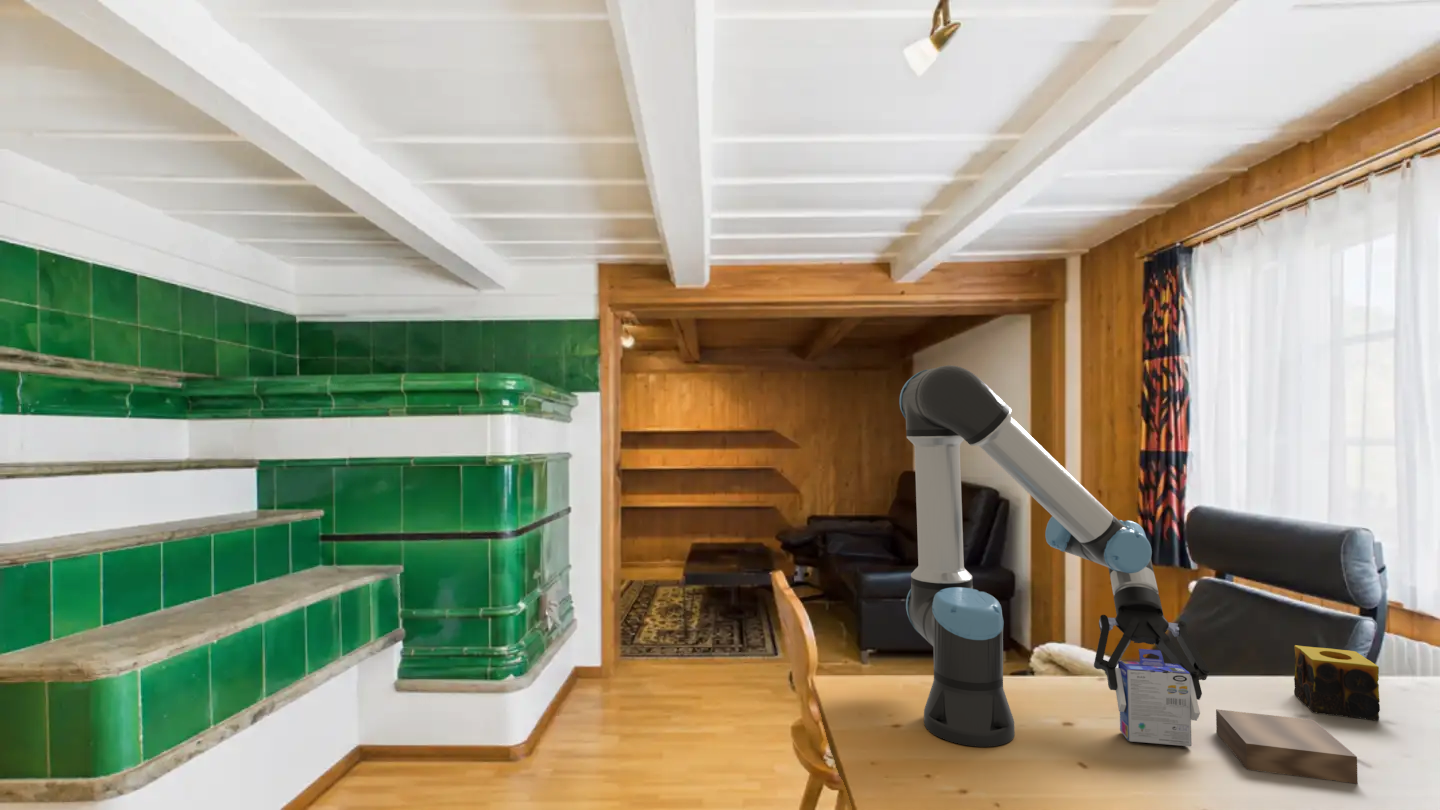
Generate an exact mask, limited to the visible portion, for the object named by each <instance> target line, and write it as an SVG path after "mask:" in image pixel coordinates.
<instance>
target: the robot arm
mask: <svg viewBox="0 0 1440 810" xmlns="http://www.w3.org/2000/svg"><path fill="white" fill-rule="evenodd" d="M899 409H900V411H901V413H902V416H903V417H904V419H905V430H906V439H908V441H909V442H910V443H911V444H913V446H914V465H915V467H914V468H915V473H914V474H915V497H916V498H915V503H916V505H915V506H916V525H917V526H916V528H917V529H916V530H917V559H918V561H917V562H918V566H917V567H915V569H914V570H913V571H912V572H911V573H910V584H911V585H910V589H909V591H908V593H907V595H906V601H905V609H906V614H907V617H908V620H909V622H910V624H911V625H912V627H913V628H914V629H913V630H915V632H917V633H918V634H919V635H921V637H922V638H923V639H925V641H927V642H928V644H930V646H932V647H933V681H932V685H931V687H930V691H929V694H928V697H927V700H926V704H925V705H924V709H923V724H925V725H924V727H925V726H926V727H925V729H926V730H927V729H928V730H929V731H928V730H927V731H928V732H929V733H931V734H932V733H933V734H932V735H934V736H936V737H937V736H938V738H940V739H942V738H943V740H944V739H945V741H947V742H951V743H953V742H954V744H957V743H958V745H963V746H970V747H978V748H979V747H983V748H984V747H985V748H988V747H997V746H1002V745H1006V744H1007V743H1009V742H1012V740H1013V739H1014V738H1015V734H1016V733H1015V719H1014V716H1013V713H1012V710H1011V707H1010V704H1009V702H1008V699H1007V695H1006V692H1005V690H1004V640H1003V639H1004V627H1005V626H1004V623H1005V622H1004V616H1003V610H1002V605H1001V604H1000V602H999V600H998V599H997V598H996V597H994V596H993V595H992V594H990V593H987V592H986V591H979V590H978V589H975V588H974V585H973V575H972V574H971V573H970V572H969V571H968V570H967V569H966V568H965V562H964V558H965V557H964V532H963V503H962V478H961V477H962V474H961V473H962V472H961V448H960V447H961V444H962V443H963V442H964V441H965V442H966V443H967V444H969V446H972V447H973V446H976V447H977V446H978V447H979V448H981V449H982V451H984V452H985V453H986V454H987V455H988V456H989V457H990V458H991V459H992V460H993V461H994V462H996V463H997V465H999V466H1000V467H1001V468H1002V469H1003V471H1004V472H1006V473H1007V474H1008V475H1009V476H1010V477H1011V478H1012V479H1013V480H1014V481H1015V482H1016V483H1017V484H1018V485H1019V486H1021V488H1023V490H1025V492H1027V493H1028V494H1029V495H1030V496H1031V498H1033V499H1034V500H1035V501H1036V502H1037V503H1038V504H1039V505H1040V506H1041V507H1042V508H1043V509H1045V510H1046V511H1047V512H1048V513H1049V514H1050V515H1051V517H1050V518H1049V520H1048V521H1047V524H1046V528H1045V533H1044V534H1045V540H1046V543H1047V544H1048V545H1049V547H1051V548H1054V549H1056V550H1059V551H1060V552H1063V553H1068V554H1069V555H1074V556H1077V557H1078V558H1082V559H1084V560H1086V561H1087V560H1088V561H1090V562H1093V563H1095V564H1098V565H1101V566H1104V567H1106V568H1107V569H1108V572H1109V577H1110V583H1111V589H1112V594H1113V602H1114V608H1115V613H1116V616H1115V617H1108V615H1106V614H1101V615H1100V617H1099V621H1098V627H1099V630H1100V634H1099V639H1098V643H1097V644H1098V645H1097V649H1096V653H1095V656H1094V657H1095V658H1094V662H1093V663H1094V664H1093V667H1094V668H1095V670H1102V671H1104V673H1105V675H1106V679H1107V680H1106V681H1107V686H1108V688H1109V690H1110V691H1115V694H1116V702H1117V709H1118V712H1119V713H1120V712H1124V710H1125V707H1126V700H1125V694H1124V688H1123V682H1122V676H1121V670H1120V668H1118V667H1117V666H1118V661H1121V659H1122V657H1123V656H1124V654H1125V652H1126V650H1127V649H1128V647H1129V646H1130V644H1131V642H1133V644H1147V645H1155V647H1157V649H1158V650H1161V652H1163V654H1164V655H1165V656H1166V657H1167V658H1168V659H1169V660H1170V662H1171V663H1173V664H1179V665H1180V666H1182V667H1183V668H1184V669H1185V670H1187V671H1188V672H1189V673H1190V699H1191V721H1198V719H1199V717H1200V714H1201V711H1200V707H1199V703H1198V702H1199V701H1200V700H1201V698H1202V696H1203V693H1202V687H1201V684H1200V681H1206V680H1207V678H1208V676H1209V674H1210V672H1211V671H1210V669H1209V667H1208V665H1207V664H1206V662H1205V660H1204V659H1203V657H1202V655H1201V653H1200V651H1199V650H1198V648H1197V647H1196V645H1195V643H1194V641H1193V640H1192V638H1191V636H1190V635H1189V632H1188V627H1187V624H1186V622H1185V621H1183V620H1180V621H1178V623H1177V622H1176V623H1175V622H1170V621H1169V622H1168V620H1167V619H1166V618H1165V615H1164V611H1163V607H1162V603H1161V599H1160V595H1159V589H1158V583H1157V579H1156V575H1155V570H1154V566H1153V562H1152V561H1153V560H1152V554H1153V551H1152V550H1153V549H1152V546H1151V542H1150V541H1149V539H1148V538H1147V535H1146V532H1145V530H1144V528H1143V527H1142V526H1141V525H1140V524H1139V523H1137V522H1134V521H1133V520H1128V519H1127V520H1122V519H1118V518H1117V517H1116V516H1114V515H1113V514H1112V513H1111V512H1110V511H1109V510H1108V509H1107V508H1106V507H1105V506H1104V505H1103V504H1102V503H1101V502H1100V501H1099V500H1098V499H1097V498H1096V497H1094V495H1093V494H1092V493H1090V492H1089V490H1088V489H1087V488H1085V487H1084V486H1083V485H1082V484H1081V483H1080V482H1079V481H1078V480H1077V479H1076V478H1075V477H1074V476H1073V475H1072V474H1071V473H1069V472H1068V471H1067V470H1066V468H1065V467H1064V466H1063V465H1061V463H1059V461H1057V460H1056V459H1055V458H1054V457H1053V456H1052V455H1051V454H1050V453H1049V452H1048V451H1047V450H1046V449H1045V448H1044V447H1043V446H1042V445H1041V444H1040V443H1039V442H1038V441H1037V440H1036V439H1035V438H1034V437H1032V435H1031V434H1030V433H1028V431H1027V430H1025V428H1023V427H1022V426H1021V425H1020V424H1019V423H1018V422H1017V421H1016V420H1015V419H1014V418H1013V417H1012V408H1011V407H1010V406H1009V404H1007V403H1006V402H1005V401H1004V400H1003V399H1002V398H1001V397H1000V396H999V395H998V394H997V393H996V392H995V391H993V389H992V388H991V387H990V386H989V385H987V384H986V383H985V382H984V381H983V380H982V379H981V378H980V377H979V376H978V375H976V374H975V373H973V372H972V371H970V370H969V369H967V368H964V367H961V366H958V365H951V364H950V365H943V366H942V365H941V366H938V367H935V368H929V369H928V368H927V369H924V370H921V371H919V372H917V373H915V374H914V375H912V376H911V377H910V378H909V379H908V380H907V381H906V382H905V383H904V385H903V386H902V389H901V390H900V394H899ZM1114 626H1116V627H1117V628H1118V630H1120V631H1121V633H1123V634H1122V637H1121V638H1120V639H1119V641H1118V644H1117V645H1116V647H1115V649H1114V650H1113V652H1112V654H1111V656H1110V657H1109V659H1108V660H1106V659H1104V658H1105V652H1106V648H1107V645H1108V640H1109V632H1110V631H1112V630H1113V628H1114ZM1167 631H1170V632H1171V633H1172V635H1173V636H1174V637H1175V638H1176V639H1177V642H1178V644H1179V646H1180V647H1181V649H1182V651H1183V653H1184V654H1185V656H1186V657H1185V656H1184V654H1182V653H1181V651H1180V650H1179V649H1178V648H1177V647H1176V645H1175V644H1174V643H1173V642H1172V641H1171V638H1170V637H1169V636H1168V634H1167V633H1166V632H1167Z"/></svg>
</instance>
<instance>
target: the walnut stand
mask: <svg viewBox="0 0 1440 810" xmlns="http://www.w3.org/2000/svg"><path fill="white" fill-rule="evenodd" d="M1215 714H1216V715H1215V717H1216V719H1215V721H1216V723H1215V724H1216V726H1215V727H1216V729H1215V730H1216V734H1217V733H1218V734H1217V735H1218V736H1219V737H1220V738H1221V740H1222V741H1223V742H1224V743H1225V745H1226V744H1227V745H1228V746H1227V747H1228V749H1229V750H1231V752H1232V753H1233V754H1234V756H1235V757H1236V756H1237V757H1236V758H1237V759H1238V760H1239V762H1240V761H1241V762H1240V763H1241V764H1242V765H1243V766H1244V768H1245V769H1246V770H1248V769H1249V770H1250V771H1256V770H1258V772H1263V771H1266V772H1265V773H1273V774H1280V775H1286V774H1287V775H1288V776H1293V777H1295V776H1296V777H1303V778H1309V777H1311V779H1317V778H1318V779H1319V780H1325V779H1326V781H1332V780H1336V781H1335V782H1341V783H1348V782H1349V783H1350V784H1355V785H1356V784H1358V781H1359V780H1358V756H1357V755H1356V754H1355V753H1353V752H1352V751H1351V750H1350V749H1348V748H1347V747H1346V746H1345V745H1344V744H1342V742H1340V741H1339V740H1338V739H1337V738H1335V737H1334V736H1333V735H1332V734H1331V733H1330V732H1329V731H1327V730H1326V729H1325V728H1324V727H1323V726H1321V725H1320V724H1319V723H1318V722H1317V721H1315V720H1314V719H1310V718H1309V719H1308V718H1300V717H1293V716H1292V717H1290V716H1289V717H1288V716H1282V715H1281V716H1279V715H1273V714H1261V713H1254V712H1243V711H1235V710H1225V709H1216V708H1215ZM1287 775H1286V776H1287Z"/></svg>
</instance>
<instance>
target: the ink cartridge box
mask: <svg viewBox="0 0 1440 810" xmlns="http://www.w3.org/2000/svg"><path fill="white" fill-rule="evenodd" d="M1148 654H1151V655H1154V656H1157V657H1158V658H1146V657H1144V655H1148ZM1138 656H1139V661H1130V660H1129V661H1128V660H1127V661H1125V660H1120V661H1118V665H1117V666H1118V667H1117V668H1120V670H1121V676H1122V682H1123V688H1124V694H1125V700H1126V707H1125V710H1124V712H1120V711H1119V731H1120V732H1121V733H1122V735H1123V736H1124V737H1125V739H1126V740H1127V741H1128V742H1131V743H1132V742H1134V743H1144V744H1145V743H1147V744H1156V745H1157V744H1159V745H1168V746H1181V747H1182V746H1183V747H1189V748H1190V747H1192V745H1193V743H1192V720H1191V699H1190V673H1189V672H1188V671H1187V670H1185V669H1184V668H1183V667H1182V666H1180V665H1179V664H1173V663H1172V662H1171V663H1170V662H1164V657H1163V654H1162V650H1160V649H1146V648H1145V649H1144V648H1138Z"/></svg>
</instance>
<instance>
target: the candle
mask: <svg viewBox="0 0 1440 810" xmlns="http://www.w3.org/2000/svg"><path fill="white" fill-rule="evenodd" d="M1294 670H1295V671H1294V677H1293V681H1294V690H1293V695H1294V696H1295V697H1296V698H1297V699H1298V700H1299V701H1301V703H1302V704H1303V705H1305V706H1306V707H1308V706H1309V707H1308V709H1309V711H1310V712H1312V713H1314V714H1321V715H1323V714H1324V715H1327V714H1328V716H1334V717H1335V716H1336V717H1347V718H1352V719H1361V720H1362V719H1364V720H1369V721H1379V720H1380V714H1379V713H1380V712H1381V706H1380V702H1381V701H1380V691H1379V690H1380V685H1379V680H1380V679H1379V678H1380V677H1379V676H1380V675H1379V673H1380V671H1379V670H1380V668H1379V666H1378V665H1377V664H1375V663H1374V662H1372V661H1371V660H1369V659H1367V658H1366V657H1365V656H1363V655H1362V654H1360V653H1358V651H1355V650H1349V649H1348V650H1347V649H1336V648H1330V647H1329V648H1328V647H1327V648H1326V647H1314V646H1304V645H1296V644H1295V645H1294Z"/></svg>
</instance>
